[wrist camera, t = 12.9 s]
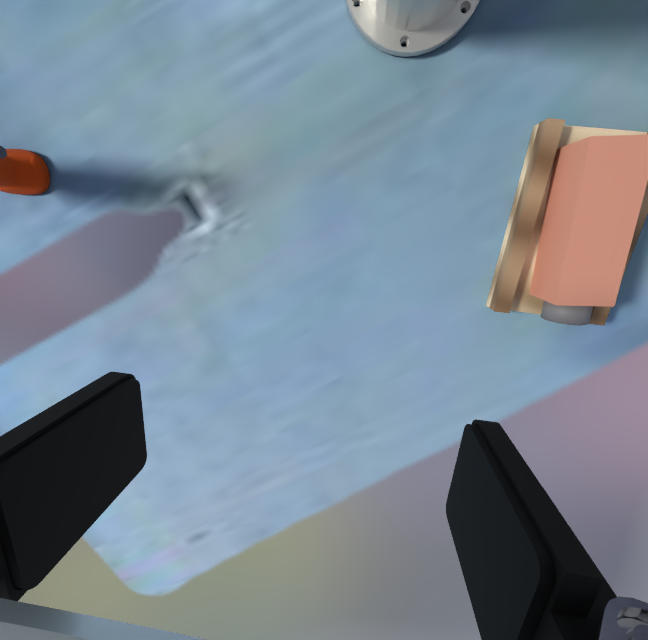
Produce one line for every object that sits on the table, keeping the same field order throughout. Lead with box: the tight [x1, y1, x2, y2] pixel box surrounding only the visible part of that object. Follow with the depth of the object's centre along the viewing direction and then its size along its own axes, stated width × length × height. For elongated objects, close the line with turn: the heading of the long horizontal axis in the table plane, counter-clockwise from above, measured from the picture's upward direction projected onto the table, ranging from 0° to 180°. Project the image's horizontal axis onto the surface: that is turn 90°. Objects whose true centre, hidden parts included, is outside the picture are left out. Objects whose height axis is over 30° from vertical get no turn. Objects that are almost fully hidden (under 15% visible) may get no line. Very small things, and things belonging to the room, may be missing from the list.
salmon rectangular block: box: [530, 134, 648, 325], centre depth 31 cm, size 16×5×5 cm, turn 0°
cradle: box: [486, 118, 648, 325], centre depth 32 cm, size 18×11×2 cm, turn 174°
